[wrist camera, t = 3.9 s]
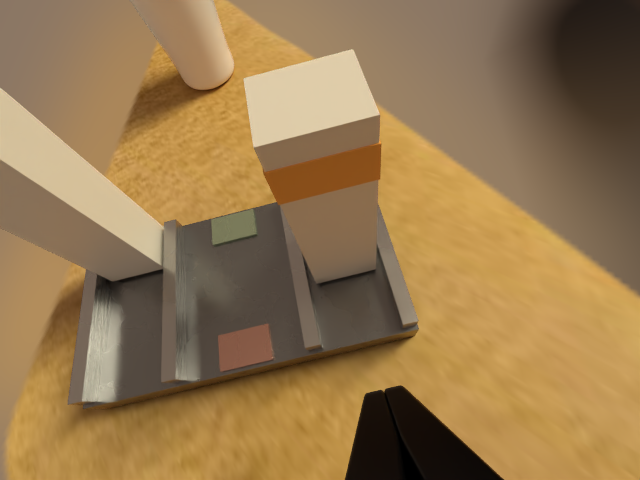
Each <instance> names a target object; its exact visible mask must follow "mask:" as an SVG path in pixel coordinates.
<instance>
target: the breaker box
mask: <svg viewBox="0 0 640 480" xmlns="http://www.w3.org/2000/svg"><path fill="white" fill-rule="evenodd" d="M417 323H418V318H417V315H416V312H415V309H414V306H413V303H412V300H411V298H410V295H409V292H408V289H407V286H406V283H405V280H404V277H403V274H402V271H401V269H400V266H399V263H398V260H397V257H396V254H395V251H394V248H393V245H392V242H391V239H390V237H389V234H388V231H387V228H386V225H385V222H384V219H383V216H382V213H381V210H380V208H379V205H378V209H377V247H376V269H375V270H371V271H367V272H363V273H359V274H354V275H350V276H346V277H342V278H338V279H334V280H330V281H326V282H322V283H318V284H316V282H315V280H314V277H313V275H312V273H311V271H310V269H309V267H308V264H307V262H306V260H305V258H304V256H303V254H302V251H301V249H300V247H299V245H298V243H297V241H296V238H295V236H294V234H293V232H292V230H291V228H290V225H289V223H288V221H287V219H286V217H285V215H284V212H283V210H282V208H281V206H280V205H278V203H277V202H276V203H272V204H268V205H264V206H260V207H256V208H252V209H248V210H244V211H240V212H236V213H232V214H228V215H224V216H220V217H217V218H213V219H209V220H205V221H201V222H197V223H193V224H189V225H185V226H182V225H181V224H180V223H179V222H178V221H177V220H172V221H168V222H164V259H163V269H160V270H156V271H153V272H149V273H145V274H141V275H137V276H133V277H129V278H125V279H121V280H117V281H110V280H108V279H106V278H104V277H102V276H100V275H98V274H96V273H94V272H92V271H89V270H87V269H86V274H85V281H84V289H83V296H82V303H81V310H80V318H79V325H78V332H77V339H76V347H75V354H74V361H73V368H72V376H71V383H70V390H69V398H68V405H83V409H109V408H113V407H117V406H122V405H126V404H130V403H134V402H138V401H143V400H147V399H151V398H155V397H160V396H164V395H168V394H172V393H176V392H181V391H185V390H189V389H193V388H197V387H202V386H206V385H210V384H214V383H219V382H223V381H227V380H231V379H235V378H240V377H244V376H248V375H252V374H257V373H261V372H265V371H269V370H273V369H278V368H282V367H286V366H290V365H294V364H299V363H303V362H307V361H311V360H316V359H320V358H324V357H328V356H332V355H337V354H341V353H345V352H349V351H353V350H358V349H362V348H366V347H370V346H375V345H379V344H383V343H387V342H391V341H396V340H400V339H404V338H408V337H413V336H415V335H416V333H417V331H418V330H419V328H418V325H417Z"/></svg>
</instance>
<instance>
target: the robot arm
mask: <svg viewBox="0 0 640 480" xmlns="http://www.w3.org/2000/svg"><path fill="white" fill-rule="evenodd" d="M345 480H504V479H503V478H502V477H500V476H499V475H498V474H497V473H496V472H495V471H494V470H493V469H492V468H491V467H490V466H489V465H488V464H486V463H485V462H484V461H483V460H482V459H481V458H480V457H479V456H478V455H477V454H476V453H475V452H474V451H472V450H471V449H470V448H469V447H468V446H467V445H466V444H465V443H464V442H463V441H462V440H461V439H460V438H458V437H457V436H456V435H455V434H454V433H453V432H452V431H451V430H450V429H449V428H448V427H447V426H446V425H444V424H443V423H442V422H441V421H440V420H439V419H438V418H437V417H436V416H435V415H434V414H433V413H432V412H430V411H429V410H428V409H427V408H426V407H425V406H424V405H423V404H422V403H421V402H420V401H419V400H418V399H416V398H415V397H414V396H413V395H412V394H411V393H410V392H409V391H408V390H407V389H406V388H405V387H403V386H396V387H391V388H387V389H385V391H384V392H383V391H382V390H378V391H374V392H370V393H366V394H365V396H364V400H363V404H362V408H361V413H360V417H359V421H358V426H357V430H356V434H355V438H354V443H353V447H352V451H351V456H350V460H349V464H348V468H347V473H346V477H345Z"/></svg>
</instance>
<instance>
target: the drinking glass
mask: <svg viewBox="0 0 640 480" xmlns="http://www.w3.org/2000/svg"><path fill="white" fill-rule="evenodd" d="M130 1H131V3H132V4H133V6H134V7H135V9H136V10H137V12H138V13H139V14H140V16H141V17H142V19H143V20H144V22H145V23H146V25H147V26H148V27H149V29H150V30H151V32H152V33H153V35H154V36H155V38H156V39H157V40H158V42H159V43H160V45H161V46H162V48H163V49H164V51H165V52H166V54H167V55H168V57H169V58H170V59H171V61H172V62H173V64H174V65H175V67H176V69H177V70H178V72H179V74H180V75H181V77H182V79H183V80H184V82H185V83H186V84H187V85H188V86H190V87H191V88H193V89H197V90H209V89H213V88H216V87H218V86H220V85H222V84H223V83H225V82H226V81H227V80H228V79H229V78H230V76H231V75H232V73H233V70H234V60H233V57H232V55H231V52H230V50H229V47H228V45H227V42H226V39H225V36H224V33H223V29H222V26H221V23H220V20H219V17H218V14H217V10H216V7H215V4H214V1H213V0H130Z"/></svg>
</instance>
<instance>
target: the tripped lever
mask: <svg viewBox="0 0 640 480" xmlns="http://www.w3.org/2000/svg"><path fill="white" fill-rule="evenodd" d="M243 79H244V85H245V92H246V99H247V106H248V113H249V120H250V126H251V133H252V140H253V147H254V149H255V152H256V154H257V156H258V158H259V160H260V162H261V165H262V167H263V173H264V176H265V178H266V180H267V182H268V184H269V186H270V189H271V191H272V193H273V195H274V197H275V199H276V201H277V203H278V205H280V206H281V208H282V210H283V212H284V215H285V217H286V219H287V221H288V223H289V225H290V228H291V230H292V232H293V234H294V236H295V238H296V241H297V243H298V245H299V247H300V249H301V251H302V254H303V256H304V258H305V260H306V262H307V264H308V267H309V269H310V271H311V273H312V275H313V277H314V280H315V282H316V284H318V283H322V282H326V281H330V280H334V279H338V278H342V277H346V276H350V275H354V274H359V273H363V272H367V271H371V270H375V269H376V247H377V209H378V180H379V179H380V167H381V141H380V139H379V132H380V114H379V111H378V109H377V106H376V104H375V101H374V99H373V96H372V94H371V92H370V89H369V87H368V84H367V82H366V79H365V77H364V75H363V72H362V70H361V67H360V65H359V62H358V60H357V57H356V55H355V53H354V50H353V49H352V50H348V51H344V52H340V53H337V54H333V55H330V56H325V57H322V58H318V59H314V60H310V61H307V62H303V63H299V64H296V65H292V66H288V67H284V68H281V69H277V70H273V71H269V72H266V73H262V74H258V75H254V76H251V77H247V78H243Z"/></svg>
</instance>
